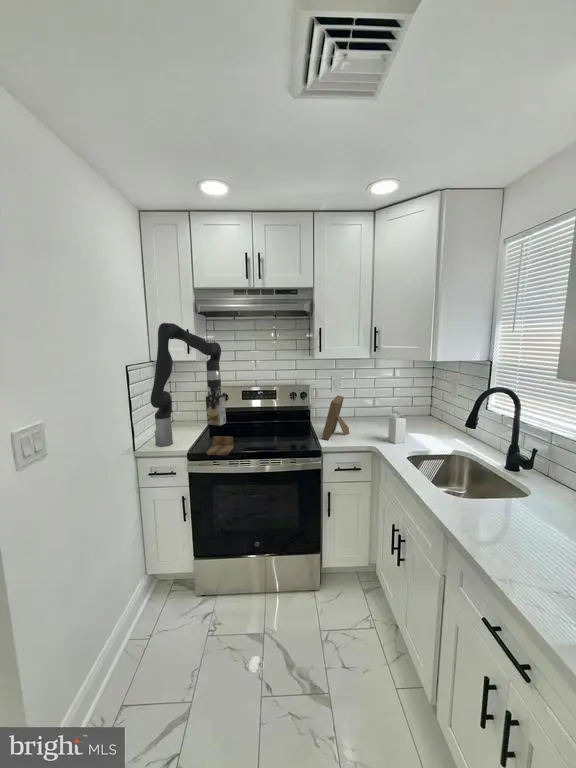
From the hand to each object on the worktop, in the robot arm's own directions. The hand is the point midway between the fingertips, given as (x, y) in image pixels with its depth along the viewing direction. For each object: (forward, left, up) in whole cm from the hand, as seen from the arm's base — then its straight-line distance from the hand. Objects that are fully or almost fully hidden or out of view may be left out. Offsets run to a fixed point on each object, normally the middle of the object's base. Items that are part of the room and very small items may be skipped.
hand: (215, 407), depth 183 cm
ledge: (+1, +2, -26) cm, 27 cm away
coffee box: (0, 0, -10) cm, 10 cm away
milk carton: (+105, +25, -27) cm, 111 cm away
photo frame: (+69, +35, -27) cm, 81 cm away
